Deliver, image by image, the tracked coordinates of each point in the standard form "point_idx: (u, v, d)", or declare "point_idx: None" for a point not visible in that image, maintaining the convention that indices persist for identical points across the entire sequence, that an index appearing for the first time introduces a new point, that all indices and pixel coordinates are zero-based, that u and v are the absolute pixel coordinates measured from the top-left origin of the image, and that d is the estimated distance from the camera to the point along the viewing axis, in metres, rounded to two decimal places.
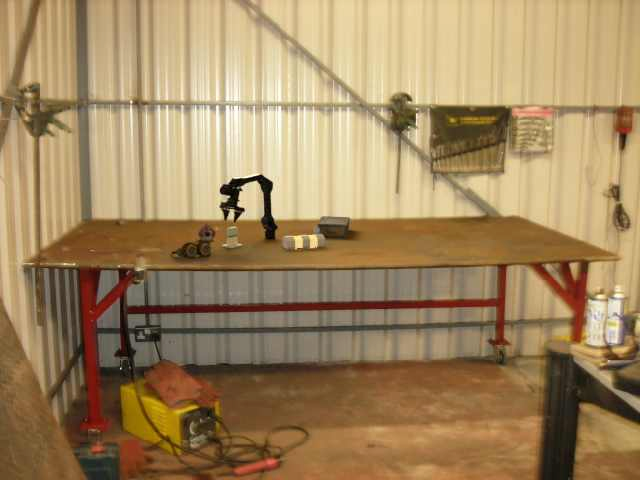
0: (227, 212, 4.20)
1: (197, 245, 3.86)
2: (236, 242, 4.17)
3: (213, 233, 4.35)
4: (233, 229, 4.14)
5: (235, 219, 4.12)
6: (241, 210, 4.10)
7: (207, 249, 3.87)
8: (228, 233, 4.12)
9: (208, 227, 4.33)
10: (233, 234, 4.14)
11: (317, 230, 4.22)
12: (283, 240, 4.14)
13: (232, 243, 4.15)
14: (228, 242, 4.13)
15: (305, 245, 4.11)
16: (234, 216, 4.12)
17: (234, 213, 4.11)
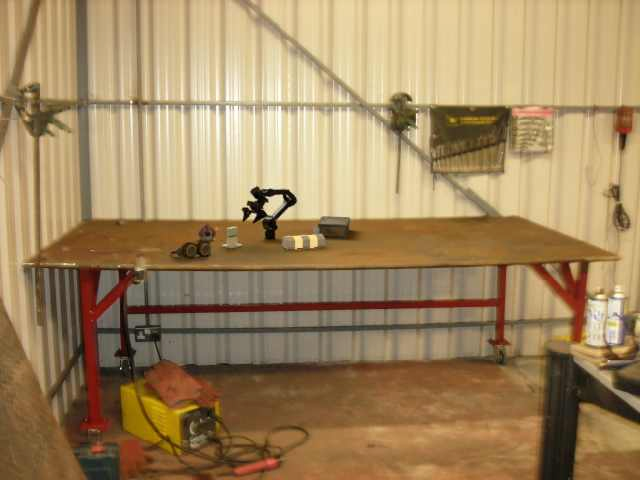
0: (247, 216, 4.31)
1: (197, 245, 3.86)
2: (236, 242, 4.17)
3: (213, 233, 4.35)
4: (233, 229, 4.14)
5: (255, 220, 4.22)
6: (264, 214, 4.22)
7: (207, 249, 3.88)
8: (228, 233, 4.12)
9: (208, 227, 4.34)
10: (233, 234, 4.14)
11: (317, 230, 4.22)
12: (283, 240, 4.14)
13: (232, 243, 4.15)
14: (228, 242, 4.13)
15: (305, 245, 4.11)
16: (255, 217, 4.22)
17: (256, 215, 4.23)
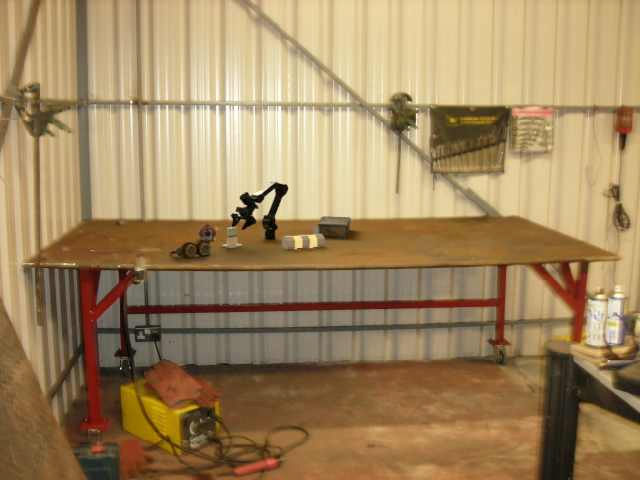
0: (236, 222, 4.24)
1: (196, 245, 3.86)
2: (236, 242, 4.17)
3: (213, 233, 4.35)
4: (233, 229, 4.14)
5: (244, 227, 4.15)
6: (253, 220, 4.15)
7: (206, 249, 3.88)
8: (228, 233, 4.12)
9: (208, 227, 4.34)
10: (233, 234, 4.14)
11: (316, 230, 4.22)
12: (283, 240, 4.14)
13: (232, 243, 4.15)
14: (228, 242, 4.13)
15: (305, 245, 4.12)
16: (244, 224, 4.15)
17: (245, 221, 4.16)
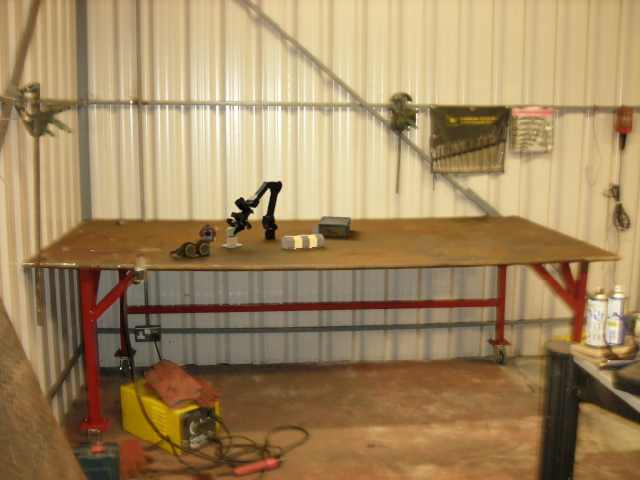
0: None
1: (196, 245, 3.86)
2: (236, 242, 4.17)
3: (214, 233, 4.36)
4: (233, 229, 4.14)
5: (235, 232, 4.15)
6: (249, 225, 4.13)
7: (206, 249, 3.88)
8: (228, 233, 4.12)
9: None
10: None
11: (316, 230, 4.23)
12: (282, 240, 4.14)
13: (232, 243, 4.15)
14: (228, 242, 4.13)
15: (304, 245, 4.12)
16: (236, 228, 4.15)
17: (237, 226, 4.15)
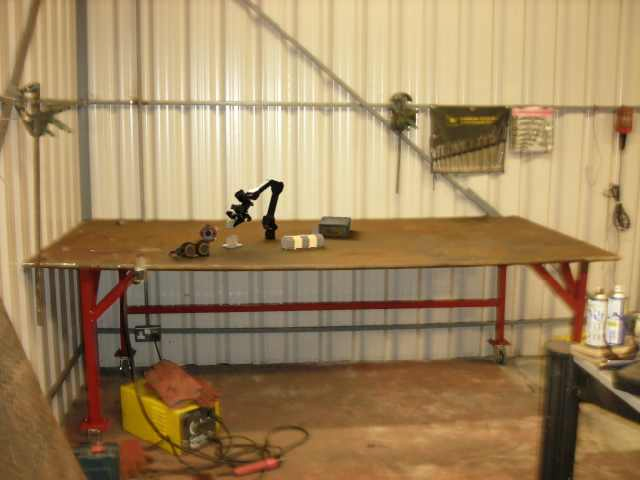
0: None
1: (196, 245, 3.87)
2: (236, 242, 4.17)
3: (214, 233, 4.36)
4: (233, 222, 4.13)
5: (235, 224, 4.14)
6: (248, 218, 4.12)
7: (205, 249, 3.88)
8: (228, 225, 4.11)
9: None
10: None
11: (316, 230, 4.23)
12: (282, 240, 4.14)
13: (232, 243, 4.15)
14: (228, 242, 4.13)
15: (304, 245, 4.12)
16: (236, 221, 4.14)
17: (237, 218, 4.14)
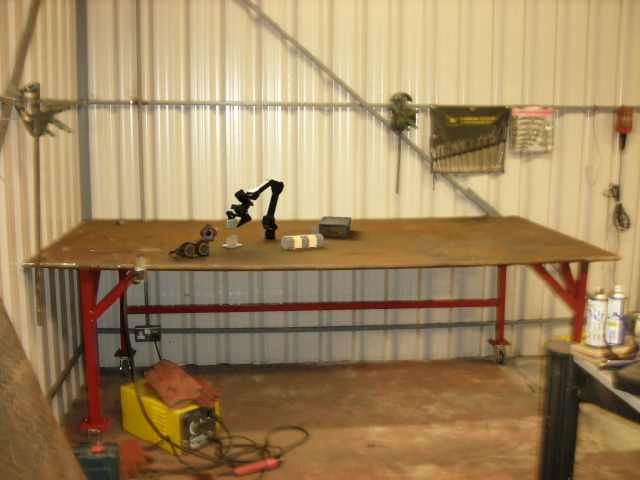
0: None
1: (195, 245, 3.87)
2: (236, 242, 4.17)
3: (214, 233, 4.37)
4: (233, 222, 4.13)
5: (239, 224, 4.12)
6: (248, 217, 4.12)
7: (205, 249, 3.88)
8: (228, 225, 4.11)
9: (209, 226, 4.35)
10: (233, 226, 4.14)
11: (315, 230, 4.23)
12: (282, 240, 4.14)
13: (232, 243, 4.15)
14: (228, 242, 4.13)
15: (304, 245, 4.12)
16: (239, 221, 4.12)
17: None
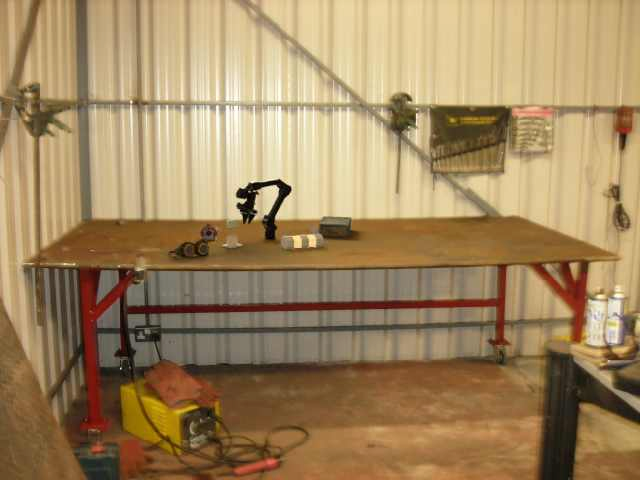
0: (251, 216, 4.35)
1: (195, 245, 3.87)
2: (236, 242, 4.17)
3: None
4: (233, 222, 4.13)
5: (243, 220, 4.26)
6: (243, 211, 4.21)
7: (205, 249, 3.89)
8: (228, 225, 4.11)
9: (210, 226, 4.36)
10: (233, 226, 4.14)
11: (315, 230, 4.23)
12: (282, 240, 4.14)
13: (232, 243, 4.15)
14: (228, 242, 4.13)
15: (304, 245, 4.12)
16: None
17: None
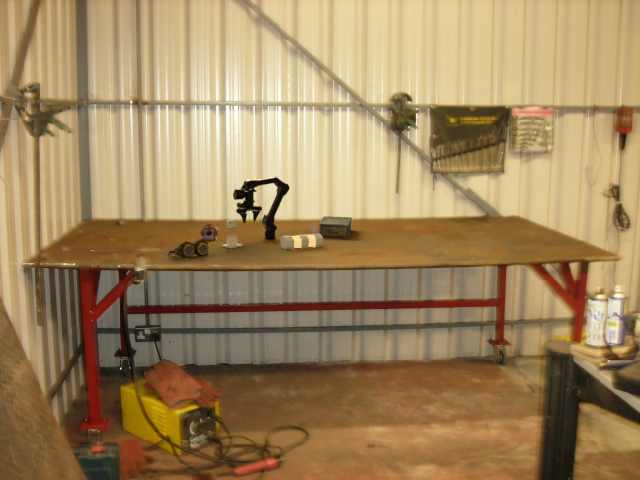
0: (255, 214, 4.36)
1: (194, 245, 3.87)
2: (236, 242, 4.17)
3: (215, 232, 4.37)
4: (233, 222, 4.13)
5: (243, 220, 4.30)
6: (239, 211, 4.25)
7: (204, 249, 3.89)
8: (228, 225, 4.11)
9: (210, 226, 4.36)
10: (233, 226, 4.14)
11: (314, 230, 4.23)
12: (281, 240, 4.14)
13: (232, 243, 4.15)
14: (228, 242, 4.13)
15: (304, 245, 4.12)
16: (242, 217, 4.30)
17: None
